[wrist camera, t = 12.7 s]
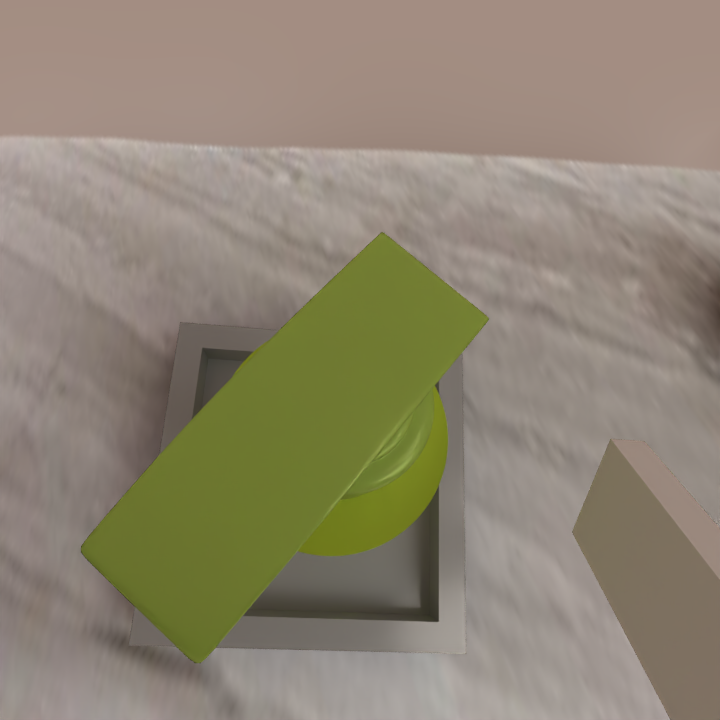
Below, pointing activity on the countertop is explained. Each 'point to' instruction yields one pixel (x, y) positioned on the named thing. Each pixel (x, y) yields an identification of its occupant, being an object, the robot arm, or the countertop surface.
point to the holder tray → (349, 572)
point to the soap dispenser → (295, 451)
